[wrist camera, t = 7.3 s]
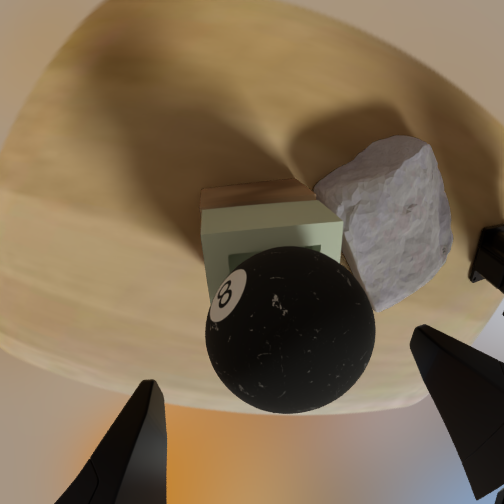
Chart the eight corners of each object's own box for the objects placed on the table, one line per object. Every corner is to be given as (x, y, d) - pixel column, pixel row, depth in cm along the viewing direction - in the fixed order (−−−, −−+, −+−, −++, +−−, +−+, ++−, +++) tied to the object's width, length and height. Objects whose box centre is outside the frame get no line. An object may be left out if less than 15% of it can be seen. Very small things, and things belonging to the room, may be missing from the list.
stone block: (389, 120, 19) (294, 189, 18) (436, 122, 15) (337, 205, 14) (425, 233, 24) (354, 302, 24) (462, 250, 20) (390, 330, 20)
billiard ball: (277, 351, 15) (307, 448, 9) (180, 301, 13) (171, 416, 7) (359, 271, 13) (429, 356, 8) (266, 194, 11) (324, 273, 6)
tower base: (294, 178, 18) (315, 194, 15) (297, 260, 21) (314, 290, 17) (201, 188, 18) (199, 207, 14) (214, 271, 20) (216, 305, 17)
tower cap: (318, 200, 15) (343, 221, 12) (313, 294, 17) (331, 328, 15) (202, 209, 14) (200, 234, 11) (215, 307, 17) (217, 345, 14)
